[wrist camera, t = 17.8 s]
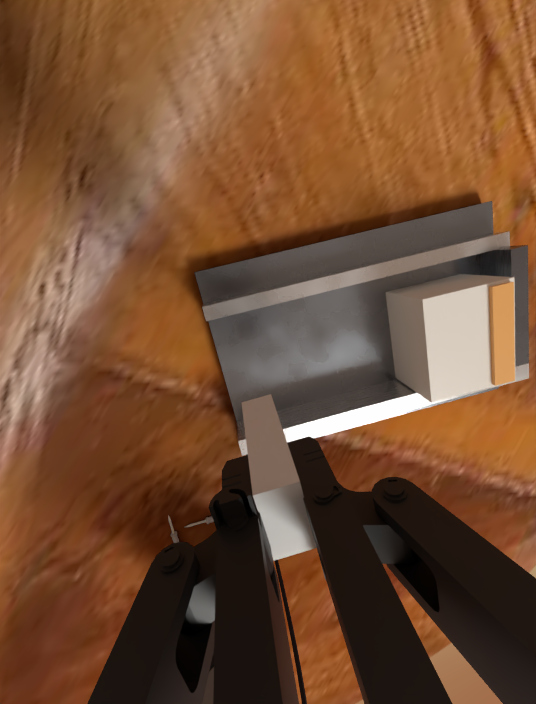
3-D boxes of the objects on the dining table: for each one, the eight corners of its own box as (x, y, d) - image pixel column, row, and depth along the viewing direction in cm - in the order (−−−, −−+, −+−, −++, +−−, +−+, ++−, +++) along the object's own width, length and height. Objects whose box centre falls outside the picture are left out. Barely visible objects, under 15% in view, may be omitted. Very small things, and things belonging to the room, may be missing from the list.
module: (385, 292, 25) (425, 300, 20) (460, 273, 26) (518, 277, 21) (395, 377, 27) (434, 404, 22) (465, 359, 28) (519, 382, 23)
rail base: (195, 272, 24) (189, 274, 21) (482, 203, 26) (527, 193, 22) (246, 450, 29) (249, 479, 25) (490, 384, 30) (529, 402, 26)
